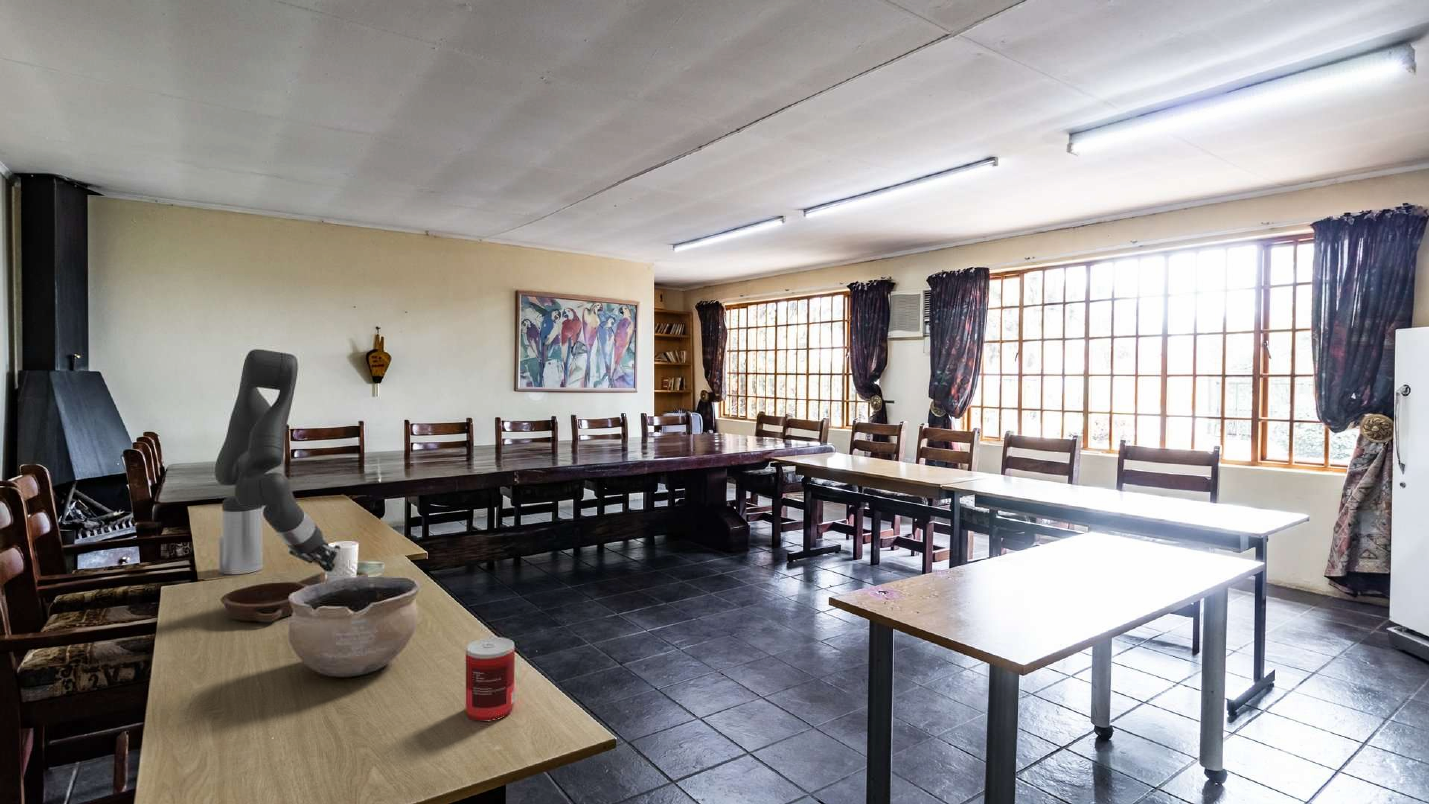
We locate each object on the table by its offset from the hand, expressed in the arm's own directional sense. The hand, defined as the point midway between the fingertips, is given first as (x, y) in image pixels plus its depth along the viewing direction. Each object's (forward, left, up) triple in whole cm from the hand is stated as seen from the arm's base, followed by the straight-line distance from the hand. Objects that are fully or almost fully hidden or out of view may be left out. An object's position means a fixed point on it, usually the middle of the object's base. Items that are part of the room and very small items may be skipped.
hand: (330, 568), depth 183 cm
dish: (-2, -21, -5) cm, 22 cm away
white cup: (0, +4, -5) cm, 7 cm away
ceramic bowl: (+36, -47, -5) cm, 59 cm away
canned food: (+68, -61, -5) cm, 92 cm away
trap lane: (0, +2, -5) cm, 5 cm away
